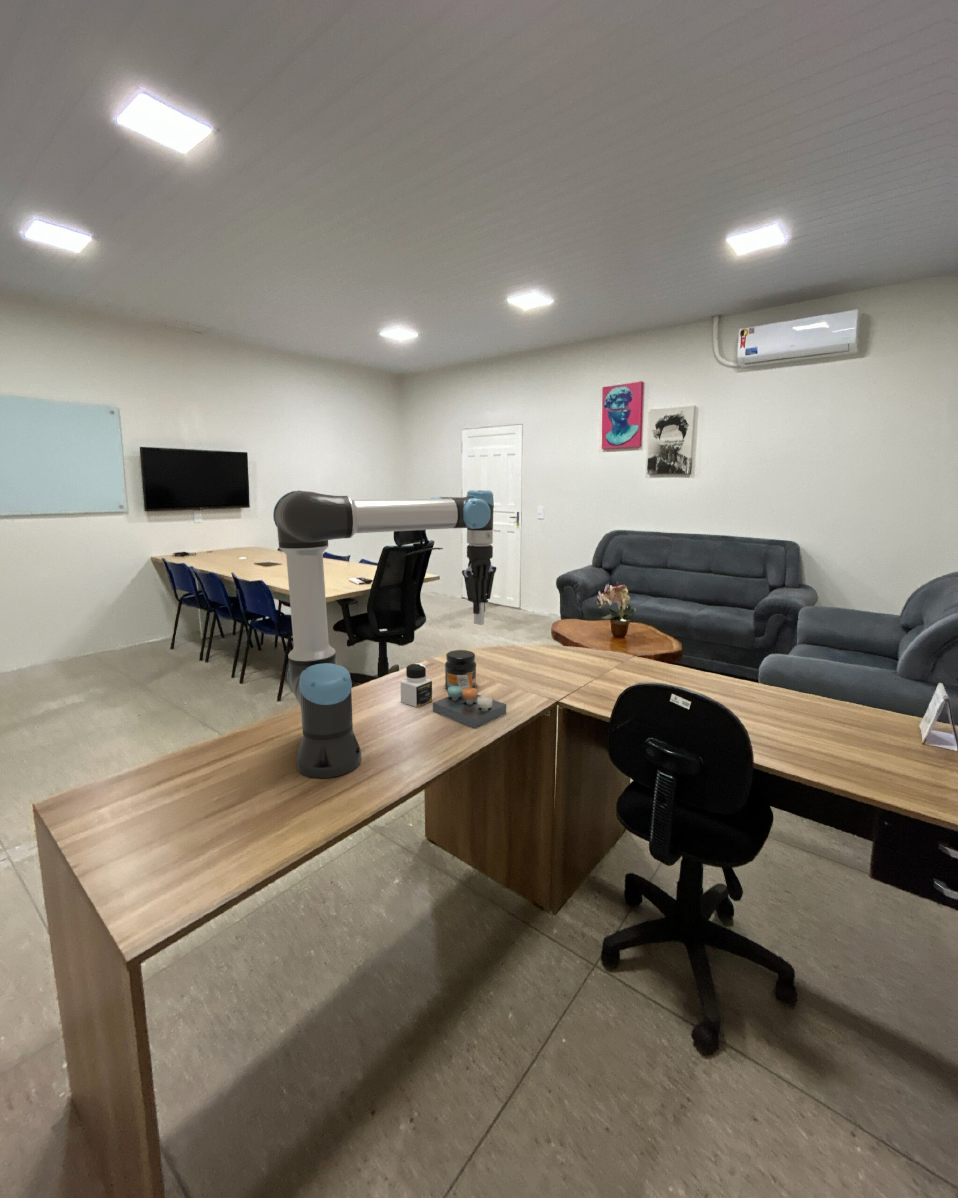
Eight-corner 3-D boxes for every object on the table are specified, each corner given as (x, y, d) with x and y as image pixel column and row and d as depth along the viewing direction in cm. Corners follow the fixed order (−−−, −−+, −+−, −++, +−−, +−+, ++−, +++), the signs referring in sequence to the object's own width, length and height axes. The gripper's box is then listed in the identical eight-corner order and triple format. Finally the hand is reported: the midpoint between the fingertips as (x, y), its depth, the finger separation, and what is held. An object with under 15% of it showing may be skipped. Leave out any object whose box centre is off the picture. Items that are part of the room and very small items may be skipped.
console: (474, 728, 149) (475, 718, 149) (432, 711, 160) (432, 702, 160) (506, 713, 160) (506, 704, 159) (464, 698, 171) (464, 690, 170)
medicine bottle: (416, 708, 163) (416, 670, 161) (400, 702, 167) (399, 665, 165) (432, 701, 169) (432, 664, 166) (416, 695, 173) (415, 660, 171)
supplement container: (465, 696, 173) (465, 660, 170) (438, 689, 178) (438, 655, 176) (482, 686, 182) (482, 652, 179) (456, 680, 187) (456, 647, 185)
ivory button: (485, 718, 153) (485, 703, 152) (474, 714, 156) (474, 698, 155) (495, 714, 156) (495, 698, 155) (483, 710, 159) (484, 694, 158)
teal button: (455, 707, 161) (455, 692, 160) (444, 703, 163) (444, 688, 163) (465, 703, 164) (465, 688, 163) (454, 699, 167) (454, 684, 166)
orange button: (470, 709, 157) (470, 694, 156) (459, 705, 159) (459, 690, 158) (479, 705, 160) (480, 690, 159) (469, 701, 163) (469, 686, 162)
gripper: (474, 547, 147) (473, 630, 152) (504, 544, 157) (502, 622, 161) (454, 545, 152) (454, 625, 157) (484, 542, 162) (483, 618, 166)
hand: (479, 623), depth 159 cm, fingers closed
